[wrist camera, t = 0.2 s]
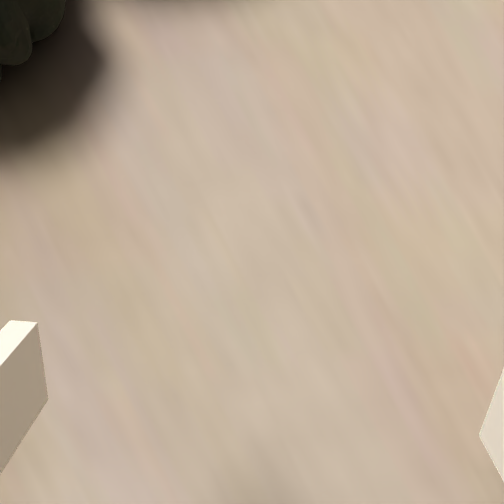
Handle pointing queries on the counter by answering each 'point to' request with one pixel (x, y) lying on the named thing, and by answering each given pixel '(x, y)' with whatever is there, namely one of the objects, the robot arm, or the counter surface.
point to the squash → (26, 27)
